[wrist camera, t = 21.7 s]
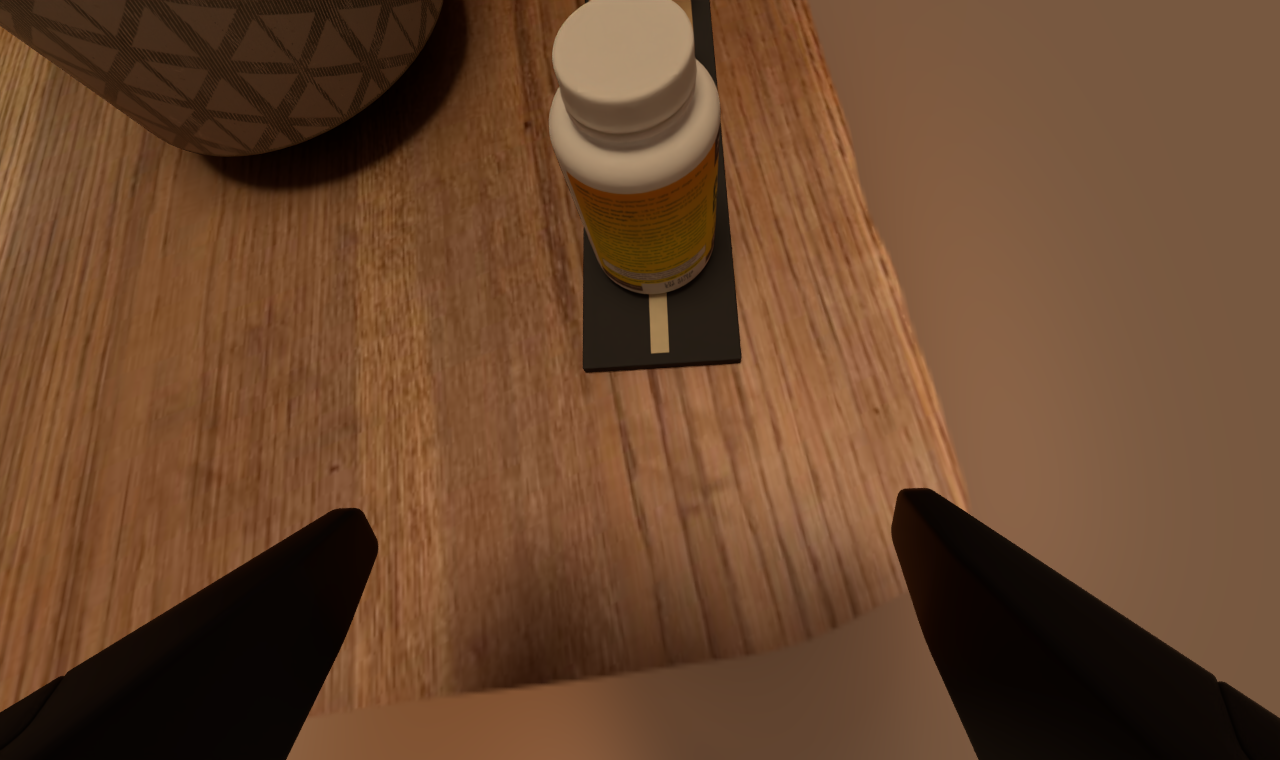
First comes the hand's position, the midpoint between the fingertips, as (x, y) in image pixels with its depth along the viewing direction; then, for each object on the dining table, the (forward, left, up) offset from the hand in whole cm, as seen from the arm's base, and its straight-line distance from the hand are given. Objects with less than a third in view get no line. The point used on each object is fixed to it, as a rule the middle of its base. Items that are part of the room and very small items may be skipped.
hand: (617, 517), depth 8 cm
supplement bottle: (+12, 0, -12) cm, 17 cm away
